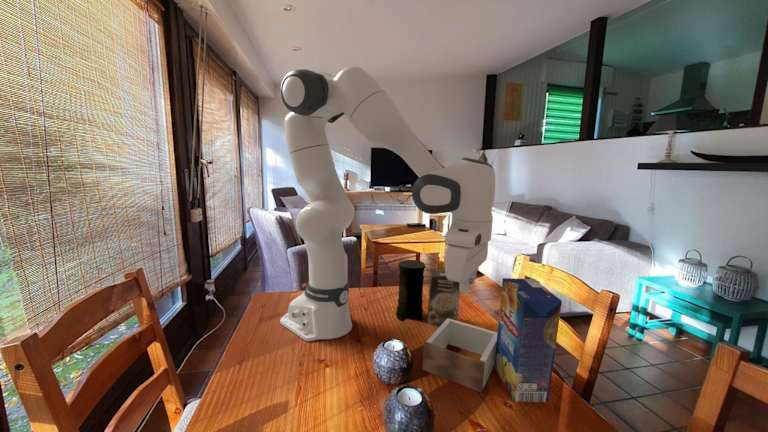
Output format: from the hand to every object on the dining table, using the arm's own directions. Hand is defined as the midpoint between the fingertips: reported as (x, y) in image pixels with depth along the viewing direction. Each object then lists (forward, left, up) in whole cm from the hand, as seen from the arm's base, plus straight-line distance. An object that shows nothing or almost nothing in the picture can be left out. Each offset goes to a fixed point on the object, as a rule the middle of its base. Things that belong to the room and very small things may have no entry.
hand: (466, 288), depth 78 cm
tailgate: (0, -6, -20) cm, 21 cm away
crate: (0, +1, -21) cm, 21 cm away
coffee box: (-13, +20, -21) cm, 32 cm away
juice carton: (+13, +1, -21) cm, 25 cm away
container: (-23, +17, -21) cm, 36 cm away
